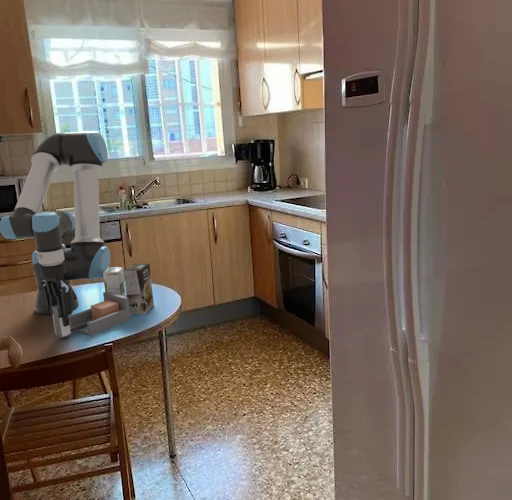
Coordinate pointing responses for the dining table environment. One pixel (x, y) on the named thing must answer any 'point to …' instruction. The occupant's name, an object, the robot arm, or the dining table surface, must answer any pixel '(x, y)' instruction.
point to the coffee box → (139, 288)
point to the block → (96, 310)
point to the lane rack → (106, 320)
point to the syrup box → (114, 280)
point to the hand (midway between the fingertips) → (63, 333)
